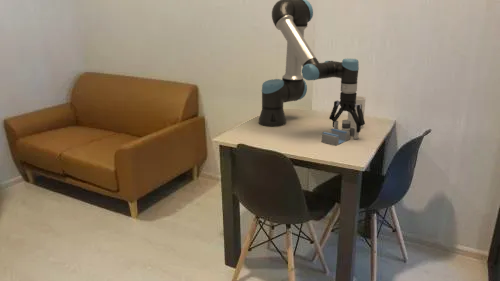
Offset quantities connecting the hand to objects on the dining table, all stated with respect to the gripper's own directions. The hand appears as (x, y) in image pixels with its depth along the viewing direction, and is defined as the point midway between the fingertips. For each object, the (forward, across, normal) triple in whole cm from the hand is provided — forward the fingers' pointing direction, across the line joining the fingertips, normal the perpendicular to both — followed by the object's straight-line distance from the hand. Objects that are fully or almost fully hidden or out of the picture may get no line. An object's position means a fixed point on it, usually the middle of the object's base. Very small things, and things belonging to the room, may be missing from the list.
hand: (345, 136), depth 197 cm
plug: (0, 0, 0) cm, 0 cm away
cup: (0, -5, +18) cm, 19 cm away
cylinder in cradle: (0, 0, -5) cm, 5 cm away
